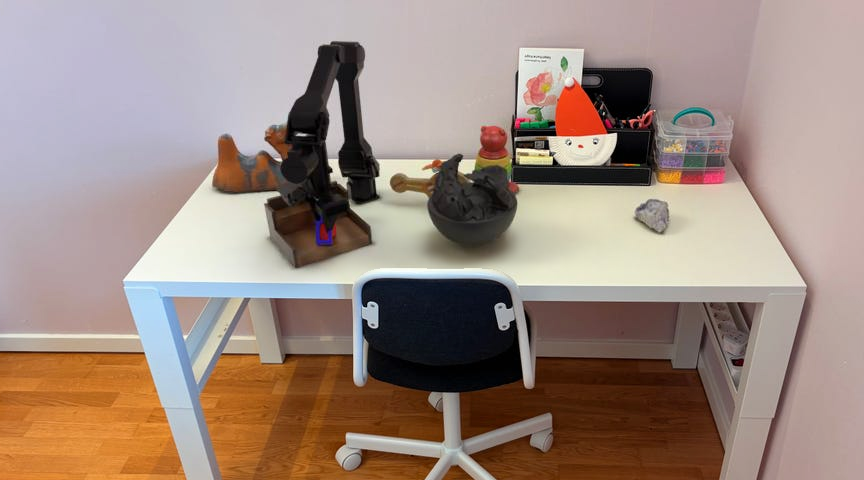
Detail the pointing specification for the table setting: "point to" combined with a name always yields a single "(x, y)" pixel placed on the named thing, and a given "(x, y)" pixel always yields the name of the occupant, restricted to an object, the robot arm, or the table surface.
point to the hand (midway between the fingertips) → (324, 227)
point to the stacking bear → (495, 152)
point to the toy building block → (324, 234)
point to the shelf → (313, 230)
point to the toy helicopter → (420, 180)
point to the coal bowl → (472, 204)
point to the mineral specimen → (653, 214)
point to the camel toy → (251, 164)
